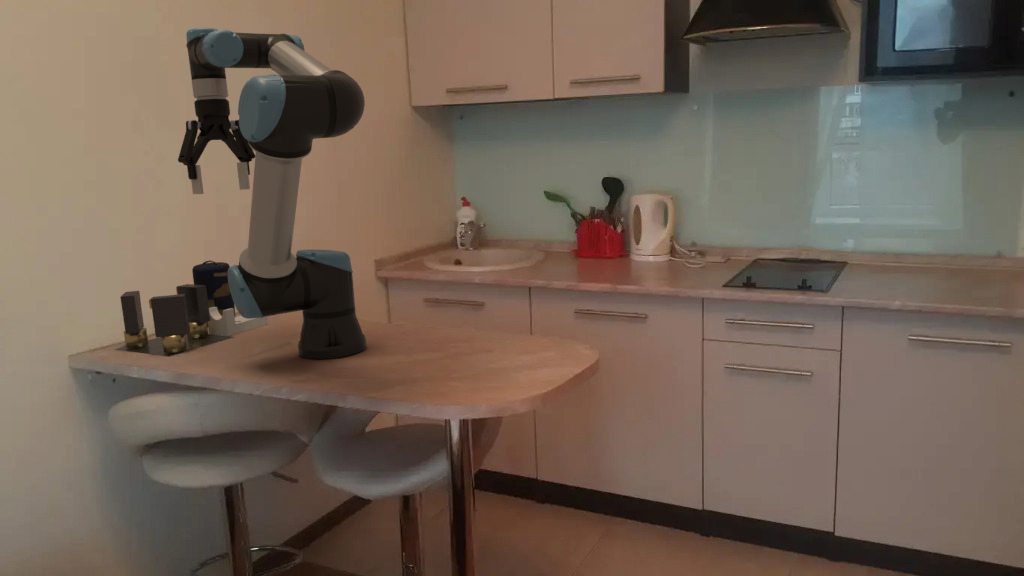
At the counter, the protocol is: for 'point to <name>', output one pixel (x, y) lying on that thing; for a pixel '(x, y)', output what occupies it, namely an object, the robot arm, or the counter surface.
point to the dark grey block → (170, 321)
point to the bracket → (231, 322)
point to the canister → (215, 284)
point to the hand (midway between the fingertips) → (222, 191)
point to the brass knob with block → (133, 320)
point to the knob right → (196, 309)
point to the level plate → (191, 343)
